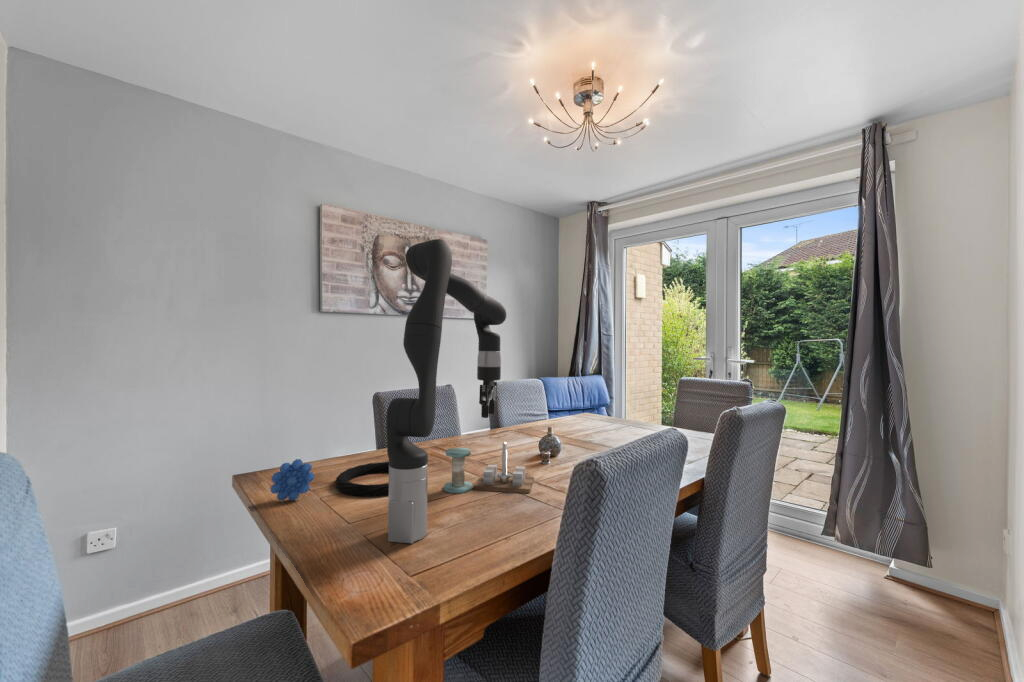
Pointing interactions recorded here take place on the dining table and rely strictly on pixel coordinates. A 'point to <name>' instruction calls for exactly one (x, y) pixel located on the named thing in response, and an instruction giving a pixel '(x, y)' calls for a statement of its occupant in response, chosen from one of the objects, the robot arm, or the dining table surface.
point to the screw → (504, 466)
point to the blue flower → (292, 480)
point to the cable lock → (360, 488)
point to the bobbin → (458, 471)
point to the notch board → (513, 485)
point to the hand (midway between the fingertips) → (488, 415)
